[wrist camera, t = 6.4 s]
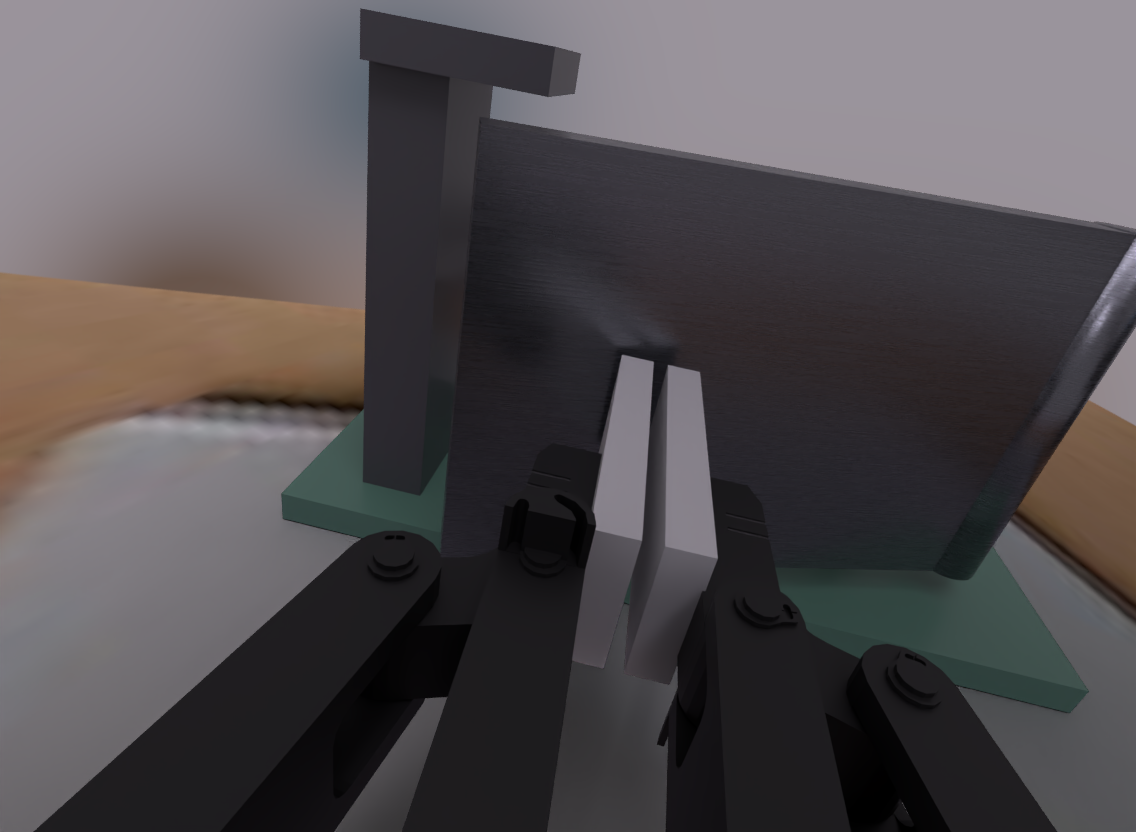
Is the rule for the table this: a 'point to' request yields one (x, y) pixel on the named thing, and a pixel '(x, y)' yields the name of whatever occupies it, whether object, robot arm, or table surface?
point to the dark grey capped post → (426, 221)
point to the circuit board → (824, 596)
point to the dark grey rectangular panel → (779, 340)
